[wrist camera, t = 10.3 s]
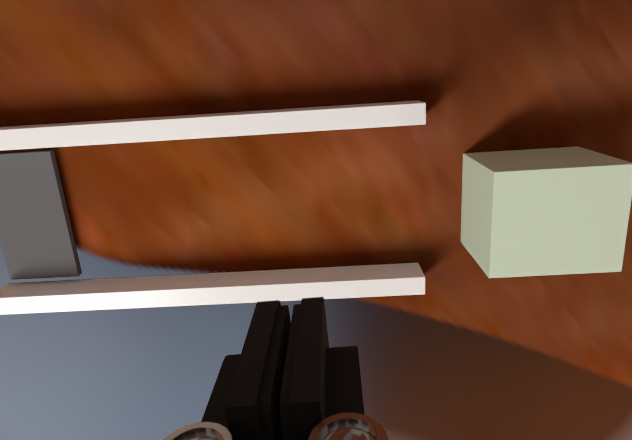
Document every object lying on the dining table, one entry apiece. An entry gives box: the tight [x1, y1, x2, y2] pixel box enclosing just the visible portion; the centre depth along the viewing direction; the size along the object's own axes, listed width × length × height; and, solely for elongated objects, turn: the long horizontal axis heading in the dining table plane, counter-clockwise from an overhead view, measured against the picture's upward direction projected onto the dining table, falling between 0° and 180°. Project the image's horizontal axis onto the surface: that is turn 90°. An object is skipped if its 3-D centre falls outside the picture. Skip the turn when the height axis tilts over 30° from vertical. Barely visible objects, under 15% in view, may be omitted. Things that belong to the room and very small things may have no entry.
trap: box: [0, 150, 82, 279], centre depth 27 cm, size 4×7×1 cm, turn 4°
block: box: [461, 146, 632, 278], centre depth 24 cm, size 6×5×5 cm
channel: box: [0, 100, 426, 315], centre depth 25 cm, size 24×10×2 cm, turn 94°
